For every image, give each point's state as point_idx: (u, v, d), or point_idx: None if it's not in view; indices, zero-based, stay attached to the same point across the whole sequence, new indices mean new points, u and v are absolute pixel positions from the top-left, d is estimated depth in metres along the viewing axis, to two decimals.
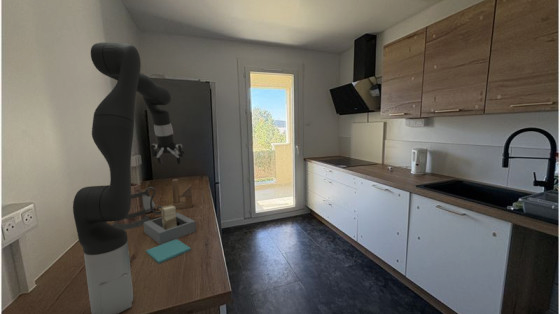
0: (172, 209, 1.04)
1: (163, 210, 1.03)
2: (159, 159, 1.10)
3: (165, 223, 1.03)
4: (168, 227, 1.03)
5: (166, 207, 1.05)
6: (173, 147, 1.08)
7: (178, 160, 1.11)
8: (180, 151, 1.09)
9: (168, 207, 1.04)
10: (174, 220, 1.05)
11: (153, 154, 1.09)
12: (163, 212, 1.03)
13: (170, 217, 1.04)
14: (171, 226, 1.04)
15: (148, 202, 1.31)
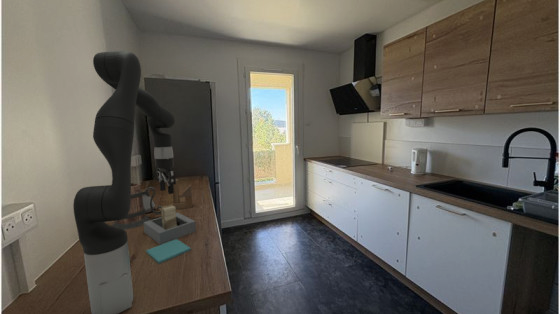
0: (172, 209, 1.04)
1: (163, 210, 1.03)
2: (160, 185, 1.06)
3: (165, 223, 1.03)
4: (168, 227, 1.03)
5: (166, 207, 1.05)
6: (166, 173, 1.00)
7: (168, 189, 1.00)
8: (169, 178, 0.98)
9: (168, 207, 1.04)
10: (174, 220, 1.05)
11: (157, 178, 1.07)
12: (163, 212, 1.03)
13: (170, 217, 1.04)
14: (171, 226, 1.04)
15: (148, 202, 1.31)
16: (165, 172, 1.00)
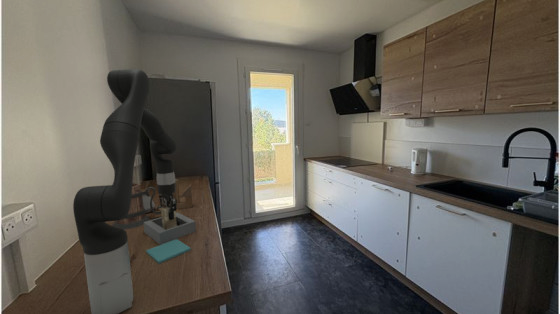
0: None
1: (163, 210, 1.03)
2: None
3: (165, 223, 1.03)
4: (168, 227, 1.03)
5: (166, 207, 1.05)
6: (168, 199, 1.01)
7: (169, 215, 1.03)
8: (170, 206, 1.00)
9: None
10: (174, 220, 1.05)
11: (161, 205, 1.07)
12: (163, 212, 1.03)
13: None
14: (171, 226, 1.04)
15: (148, 202, 1.31)
16: (167, 199, 1.02)
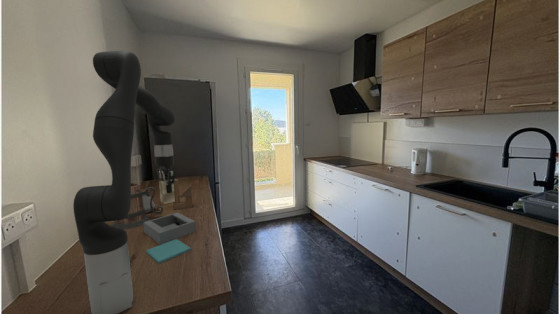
0: None
1: (161, 183, 1.02)
2: None
3: (163, 196, 1.02)
4: (166, 200, 1.02)
5: (164, 180, 1.03)
6: (166, 171, 1.00)
7: (167, 188, 1.01)
8: (168, 178, 0.99)
9: None
10: (172, 194, 1.04)
11: (159, 179, 1.05)
12: (161, 185, 1.02)
13: None
14: (169, 200, 1.03)
15: (148, 202, 1.31)
16: (165, 171, 1.00)
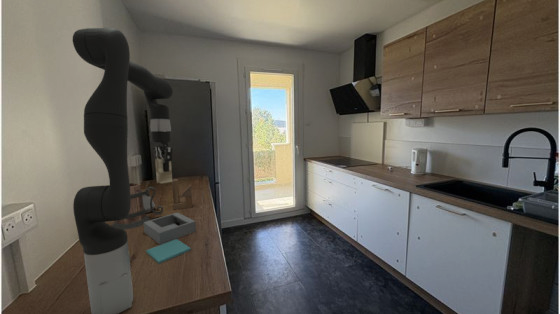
0: None
1: (157, 161, 0.94)
2: None
3: (159, 175, 0.94)
4: (163, 180, 0.94)
5: None
6: (162, 147, 0.92)
7: (164, 166, 0.93)
8: (165, 155, 0.91)
9: None
10: (169, 173, 0.96)
11: (155, 157, 0.98)
12: (157, 163, 0.94)
13: None
14: (166, 179, 0.95)
15: (148, 202, 1.31)
16: (162, 148, 0.92)
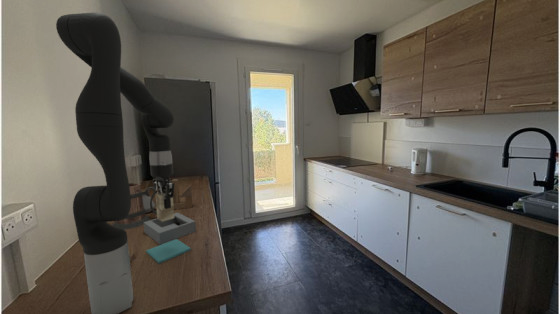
0: None
1: (158, 197, 0.85)
2: None
3: (160, 213, 0.85)
4: (164, 217, 0.85)
5: (161, 193, 0.86)
6: (163, 183, 0.83)
7: (165, 203, 0.84)
8: (166, 191, 0.82)
9: None
10: (171, 209, 0.87)
11: (155, 191, 0.89)
12: (158, 199, 0.85)
13: None
14: (167, 216, 0.86)
15: (148, 202, 1.31)
16: (163, 183, 0.83)
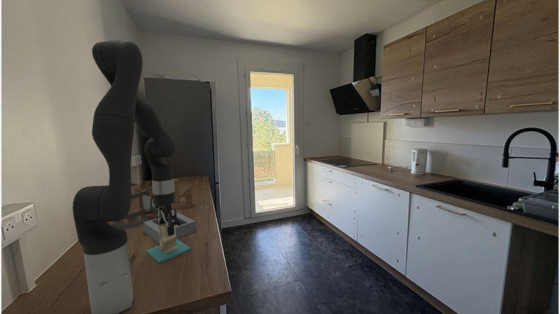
0: None
1: (160, 229, 0.86)
2: (159, 224, 0.89)
3: (163, 245, 0.86)
4: (166, 249, 0.86)
5: (164, 225, 0.88)
6: (166, 211, 0.84)
7: (168, 230, 0.85)
8: (169, 219, 0.83)
9: (166, 225, 0.88)
10: (174, 240, 0.88)
11: (156, 216, 0.91)
12: (160, 231, 0.86)
13: (168, 237, 0.87)
14: (170, 248, 0.87)
15: (148, 202, 1.31)
16: (165, 210, 0.84)
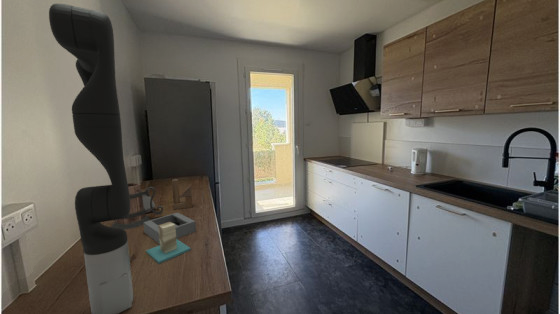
0: (171, 227, 0.87)
1: (160, 229, 0.86)
2: None
3: (163, 245, 0.86)
4: (166, 249, 0.86)
5: (164, 225, 0.88)
6: None
7: None
8: None
9: (166, 225, 0.88)
10: (174, 240, 0.88)
11: None
12: (160, 231, 0.86)
13: (168, 237, 0.87)
14: (170, 248, 0.87)
15: (148, 202, 1.31)
16: None
